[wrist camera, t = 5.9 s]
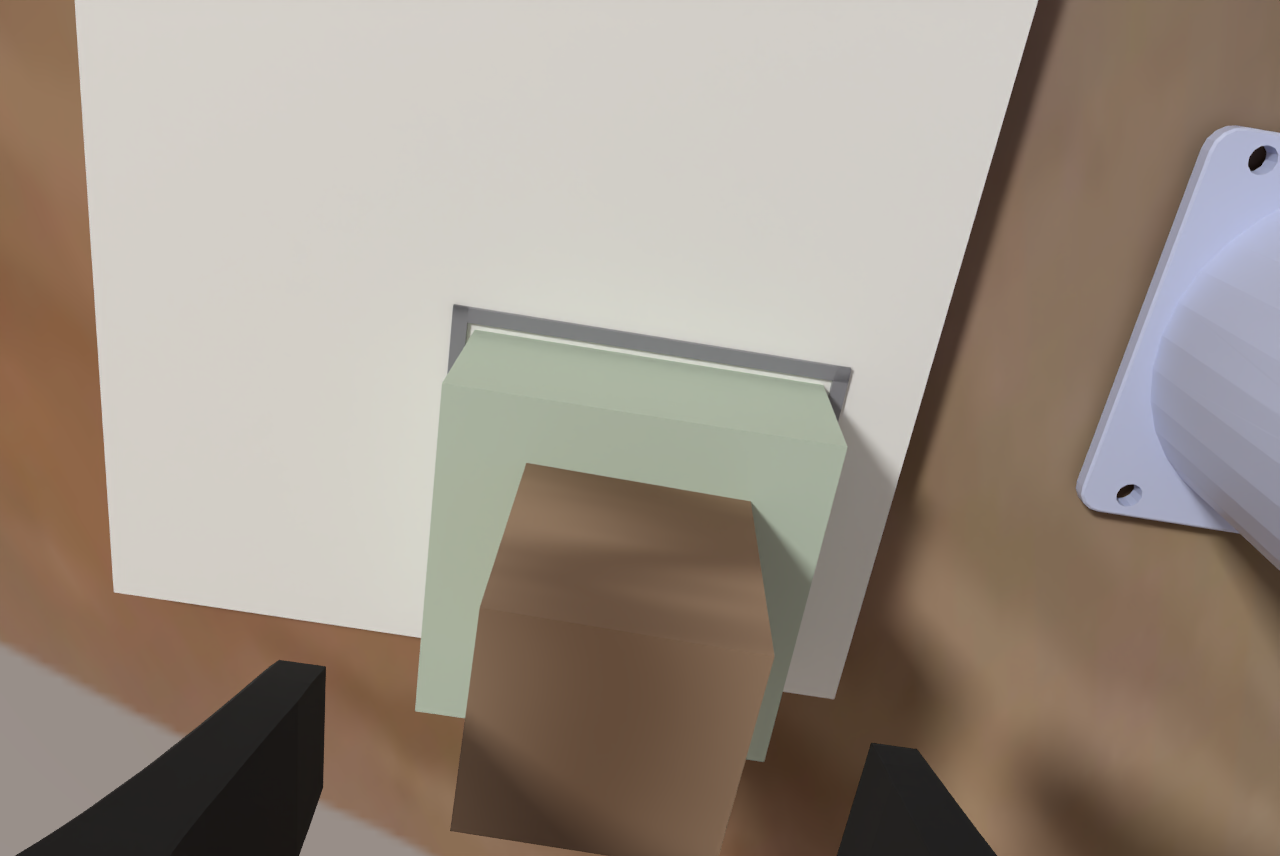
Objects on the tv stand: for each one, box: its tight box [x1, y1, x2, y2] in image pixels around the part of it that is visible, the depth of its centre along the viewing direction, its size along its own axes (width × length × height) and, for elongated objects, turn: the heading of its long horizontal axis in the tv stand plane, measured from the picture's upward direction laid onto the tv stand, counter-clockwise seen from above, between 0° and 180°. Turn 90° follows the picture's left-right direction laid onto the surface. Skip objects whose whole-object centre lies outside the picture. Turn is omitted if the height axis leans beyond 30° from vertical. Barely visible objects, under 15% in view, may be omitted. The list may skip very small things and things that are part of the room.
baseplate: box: [75, 0, 1038, 699], centre depth 19 cm, size 16×17×1 cm
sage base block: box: [415, 330, 847, 762], centre depth 20 cm, size 7×7×3 cm
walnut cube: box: [450, 463, 775, 856], centre depth 16 cm, size 4×4×4 cm
